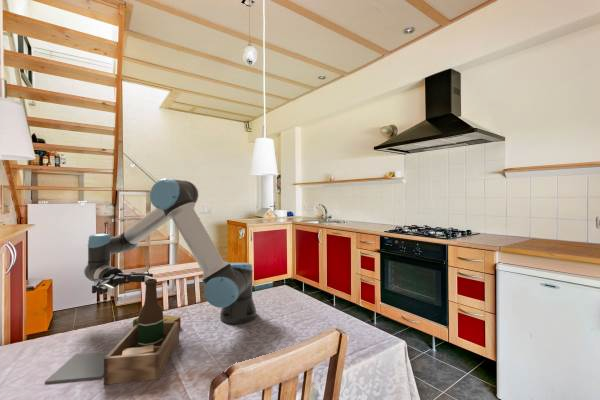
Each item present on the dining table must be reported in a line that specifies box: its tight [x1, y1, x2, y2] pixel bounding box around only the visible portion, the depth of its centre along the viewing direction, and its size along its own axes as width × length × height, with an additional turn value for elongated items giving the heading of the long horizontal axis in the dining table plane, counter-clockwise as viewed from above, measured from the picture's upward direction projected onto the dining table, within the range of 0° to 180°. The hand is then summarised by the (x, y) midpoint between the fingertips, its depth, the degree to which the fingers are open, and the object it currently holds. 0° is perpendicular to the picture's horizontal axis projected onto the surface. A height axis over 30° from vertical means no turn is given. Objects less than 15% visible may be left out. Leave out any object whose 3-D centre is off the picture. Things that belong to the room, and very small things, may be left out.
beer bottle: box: [137, 278, 164, 348], centre depth 93 cm, size 8×8×24 cm
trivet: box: [44, 350, 112, 384], centre depth 86 cm, size 14×14×1 cm
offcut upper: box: [122, 345, 154, 355], centre depth 83 cm, size 8×4×3 cm, turn 118°
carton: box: [132, 314, 182, 329], centre depth 111 cm, size 8×16×4 cm, turn 70°
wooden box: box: [103, 321, 180, 385], centre depth 89 cm, size 14×22×7 cm, turn 10°
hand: (135, 286), depth 99 cm, fingers open, 13 cm apart
